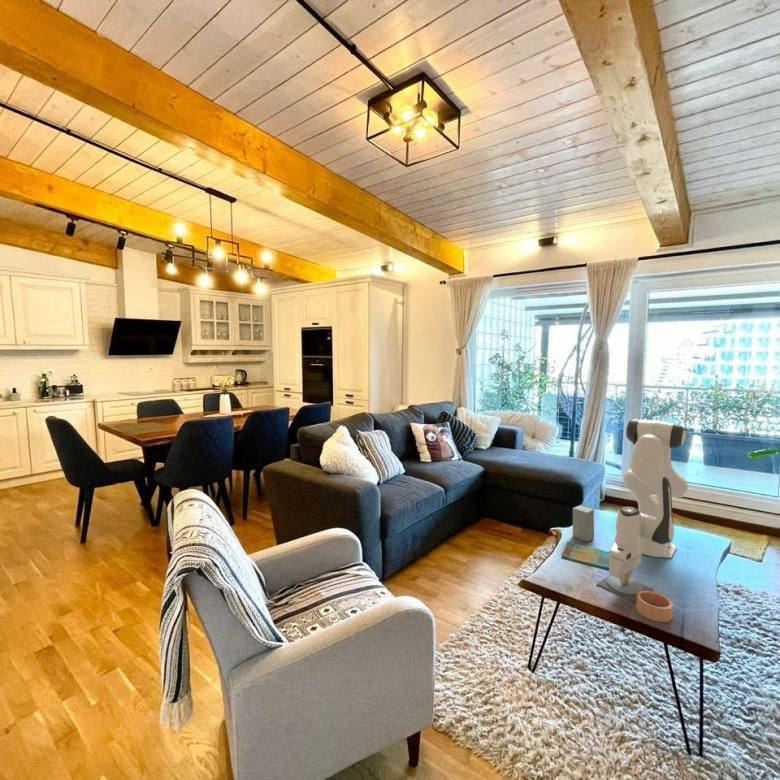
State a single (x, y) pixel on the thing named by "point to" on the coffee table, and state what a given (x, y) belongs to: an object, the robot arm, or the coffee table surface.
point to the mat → (629, 597)
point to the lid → (625, 585)
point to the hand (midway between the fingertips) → (624, 580)
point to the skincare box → (583, 523)
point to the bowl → (654, 606)
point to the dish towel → (586, 555)
